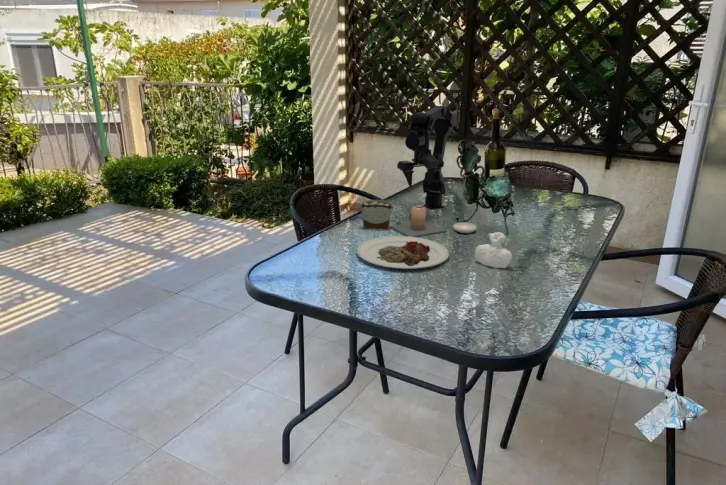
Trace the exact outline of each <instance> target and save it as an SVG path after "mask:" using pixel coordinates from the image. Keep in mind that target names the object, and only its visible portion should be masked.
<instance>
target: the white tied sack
mask: <svg viewBox="0 0 726 485" xmlns="http://www.w3.org/2000/svg"><path fill="white" fill-rule="evenodd" d="M488 237H489V241H490V244H488V243H487V244H486V243H484V244H480V245H478V246H476V248H475V251H474V253H475V254H474V256H475V260H476V261H477V262H478V263H480V264H482V265H483V266H487V267H490V268H493V269H506V268H507V267H508V266H509V264H510V262H511V260H512V259H513V255H512V252H511V251H509V250H508V248H506V247H503V246H502V244H505V240H507V237H506V235H505V234H504V233H503V232H500V231H494V232H493V233H488Z"/></svg>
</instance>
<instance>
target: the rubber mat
mask: <svg viewBox="0 0 726 485" xmlns="http://www.w3.org/2000/svg"><path fill="white" fill-rule="evenodd" d="M389 228H390V229H392V230H393V231H395V232H397V233H399V234H401V235H402V236H409V237H418V238H422V237H426V236H431V235H437V234H442V233H447V229H444V228H442V227H440V226H437V225H435V224H433V223H430V222H429V221H426V220H425V229H424V230H413V229H411V222H408V223H402V224H401V223H400V224H395V225H391V226H390V225H389Z"/></svg>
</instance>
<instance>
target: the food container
mask: <svg viewBox="0 0 726 485" xmlns="http://www.w3.org/2000/svg"><path fill="white" fill-rule="evenodd" d="M360 203H361V204H360V206H359V208H360V209H361V217H362V224H363V226H362V227H363V230H381V231H382V230H383V231H389V228H390V222H391V215H392V210H394V207H393V203H392V202H390V201H388V200H383V199H368V200H364V201H362V202H360Z"/></svg>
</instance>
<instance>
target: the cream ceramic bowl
mask: <svg viewBox="0 0 726 485" xmlns="http://www.w3.org/2000/svg"><path fill="white" fill-rule="evenodd" d="M452 226H453V228H452V229H453V230H454V231H456V232H457V233H461V234H472V233H474V232H476V231H477V225H476V224H475V223H471V222H464V221H463V222H462V221H461V222H456V223H454V224H453V225H452Z"/></svg>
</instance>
